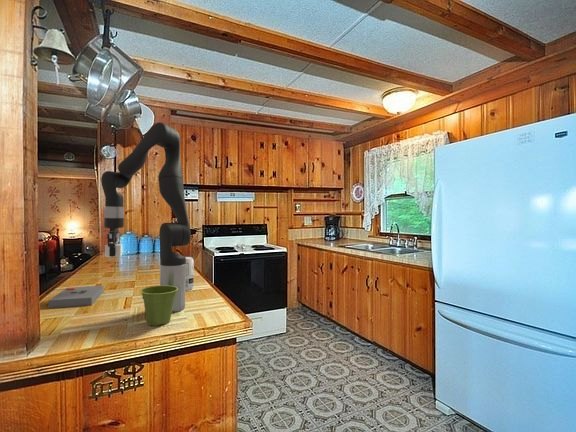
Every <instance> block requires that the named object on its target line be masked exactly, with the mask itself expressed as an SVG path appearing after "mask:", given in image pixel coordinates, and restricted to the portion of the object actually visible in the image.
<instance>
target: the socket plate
mask: <svg viewBox="0 0 576 432" xmlns="http://www.w3.org/2000/svg"><path fill="white" fill-rule="evenodd" d="M102 294H104V285H92V286H90V285H89V286H70V287H66V288H65V289H62V290H61V291H60V292H59V293H57V294H56V295H54V296H53V297H52V298H50V299H48V309H54V308H55V309H56V308H57V309H58V308H69V307H70V308H71V307H72V308H73V307H82V306H83V307H84V306H85V307H86V306H93V304H94V303H95V302H96V301H97V300H98V299H99V298H100V297H101V296H102Z"/></svg>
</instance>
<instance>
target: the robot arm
mask: <svg viewBox="0 0 576 432" xmlns="http://www.w3.org/2000/svg"><path fill="white" fill-rule="evenodd" d="M155 146H159V147H161V148H163V149H164V156H165V157H164V158H165V161H164V163H163V166H162V167H161V169H160V171H159V173H158V179H157V180H158V187H159V188H158V190H159V194H160V195H161V197H162V198H163V200H164V201H165V202H166V204H167V205H168V206H169V207H170V208H171V210H172V212H173V213H174V216H175V219H176V222H164V223H163V222H162V223H161V225H160V227H159V234H158V235H159V236H158V238H159V239H158V240H159V259H160V262H159V263H160V266H159V267H160V268H159V286H163V285H168V286H175V287H177V288H178V290H177V291H176V296H175V298H174V303H173V308H172V313H173V312H181V311H182V310H184V309H185V308H186V290H185V278H186V258H185V257H186V256H185V255H182V254H178V253H176V252H174V251H173V249H172V248H173V247H187V246H188V245H189V244H190V243H191V240H192V239H191V236H192V233H191V232H192V231H191V226H190V225H191V224H190V221H189V217H188V212H187V206H186V199H185V187H184V179H183V173H182V171H183V170H182V161H181V136H180V134H179V132H178V130H176V129H175V128H173V127H172V126H169V125H167V124H166V123H165V122H160V121H159V122H156V123H154V124H153V125H151V127H149V129H148V130H147V132H146V133H145V135H143V137H142V139H141V140H140V141H139V142H138V144H137V145H136V146H135V148H134V149H133V150H132V151H131V153H130V154H128V155H127V156H126V157H125V158H124V159H123V160H122V161H120V163H119V164H118V165H117V170H118V171H111V170H107V171H104V172H103V173H102V175H101V177H100V182H101V187H102V191H103V194H104V197H105V203H104V205H105V207H104V213H103V214H104V220H103V221H104V222H103V223H104V226H103V227H104V228H105V229H109V231H108V233H106V236H107V244H108V247H109V248H110V250H109V256H115V253H116V244H121V243H120V240H121V231H119V229H121V228H122V229H123V228H124V226H125V210H124V201H125V200H124V199H125V198H124V195H123V194H122V193H119V192H118V191H117V189H123V188H125V187H126V186H128V185H129V184H130V182H131V180H132V178H133V176H134V175H135V174H137V173H138V172H139V171H140V170H141V169H142V168H143V167H144V165H145V164H146V161H147V158H148V157H147V156H148V153H149V152H150V150H151V149H152V148H153V147H155Z"/></svg>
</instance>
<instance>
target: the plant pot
mask: <svg viewBox="0 0 576 432" xmlns="http://www.w3.org/2000/svg"><path fill="white" fill-rule="evenodd" d="M177 290H178V288H177V287H175V286H168V285H163V286H160V285H153V286H152V285H151V286H148V287H144V288H141V289H140V290H139V291H140V293H141V295H142V296H141V297H142V299H143V304H144V311H145V313H144V314H145V319H146V323H147V325H149V326H154V327H157V326H160V325H166V324H168V323H170V321H171V319H172V318H171V317H172V313H173V312H172V308H173V303H174V298H175V296H176V291H177Z"/></svg>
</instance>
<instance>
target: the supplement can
mask: <svg viewBox="0 0 576 432" xmlns="http://www.w3.org/2000/svg"><path fill="white" fill-rule="evenodd" d="M185 258H186V278H185V291H190V290H192V289H193V288H194V278H195V274H194V273H195V272H194V271H195V268H194V267H195V260H194V258H193V257H192V256H185Z"/></svg>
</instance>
